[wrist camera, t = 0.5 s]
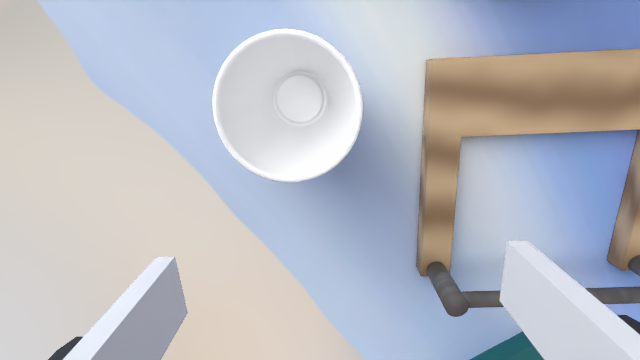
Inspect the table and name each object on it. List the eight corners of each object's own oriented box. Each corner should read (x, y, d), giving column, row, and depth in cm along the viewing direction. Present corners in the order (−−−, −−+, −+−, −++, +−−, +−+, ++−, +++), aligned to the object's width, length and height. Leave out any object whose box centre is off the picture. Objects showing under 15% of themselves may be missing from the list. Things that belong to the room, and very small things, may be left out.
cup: (241, 136, 33) (202, 165, 23) (258, 31, 30) (223, 9, 20) (337, 158, 34) (341, 196, 23) (363, 58, 31) (382, 50, 20)
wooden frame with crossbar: (426, 59, 31) (459, 55, 23) (692, 46, 30) (817, 37, 22) (416, 267, 38) (439, 317, 30) (633, 260, 37) (714, 309, 29)
